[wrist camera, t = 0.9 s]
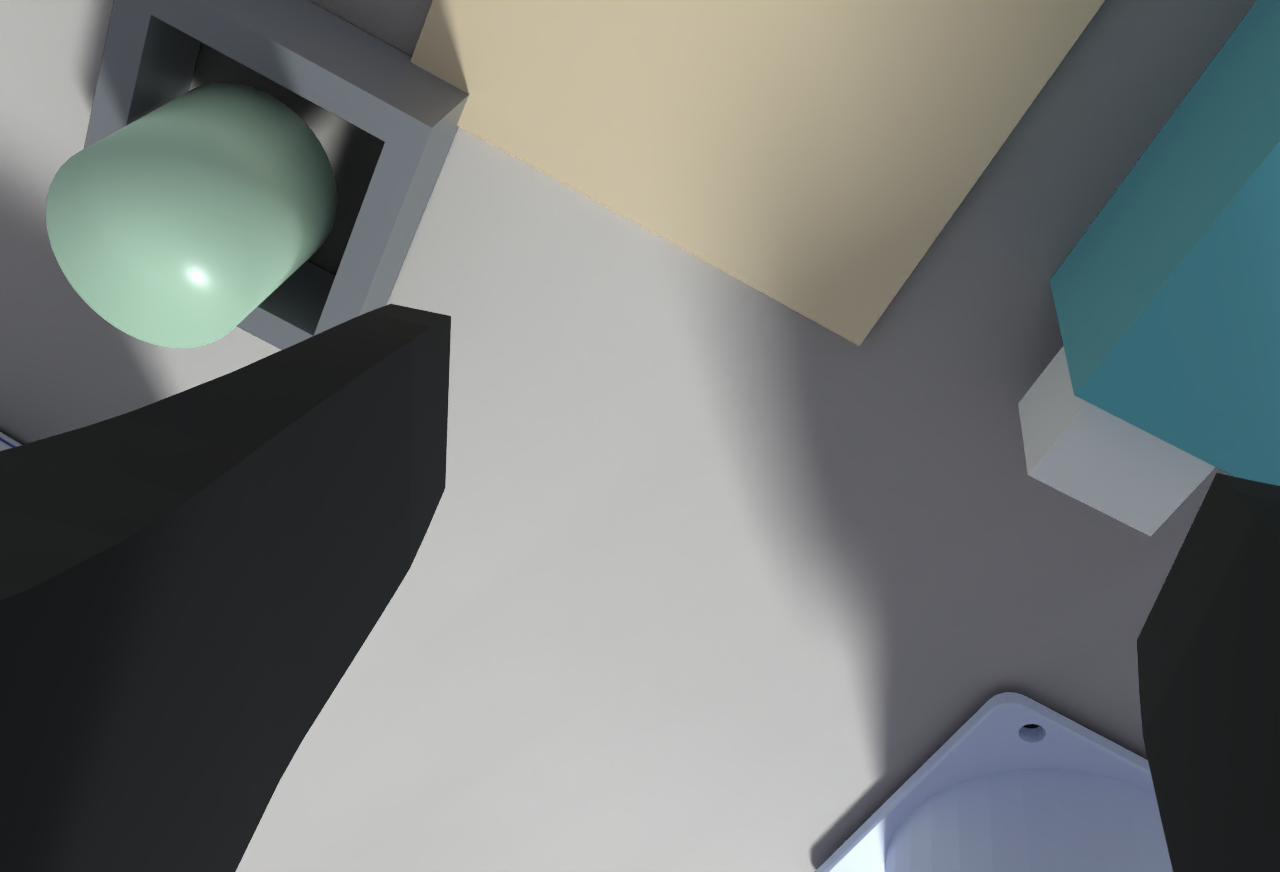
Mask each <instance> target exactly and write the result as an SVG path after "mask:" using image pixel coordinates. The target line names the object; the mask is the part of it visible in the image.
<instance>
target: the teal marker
mask: <svg viewBox="0 0 1280 872" xmlns="http://www.w3.org/2000/svg"><path fill="white" fill-rule="evenodd" d="M1050 286H1051V290H1052V295H1053V300H1054V304H1055V309H1056V313H1057V318H1058V323H1059V327H1060V332H1061V337H1062V341H1063V347H1062V348H1061V349H1060V350H1059V352H1058V353H1057V354H1056V356H1055V357H1054V358H1053V359H1052V361H1051V362H1050V363H1049V365H1048V366H1047V367H1046V368H1045V370H1044V371H1043V372H1042V374H1041V375H1040V376H1039V377H1038V379H1037V380H1036V381H1035V383H1034V384H1033V385H1032V386H1031V388H1030V389H1029V390H1028V392H1027V393H1026V394H1025V395H1024V397H1023V398H1022V399H1021V401H1020V402H1019V403H1018V407H1019V415H1020V422H1021V429H1022V437H1023V444H1024V452H1025V459H1026V466H1027V474H1028V475H1029V476H1031V477H1033V478H1035V479H1037V480H1039V481H1041V482H1043V483H1045V484H1047V485H1049V486H1051V487H1052V488H1054V489H1056V490H1058V491H1060V492H1062V493H1064V494H1066V495H1068V496H1070V497H1072V498H1074V499H1076V500H1078V501H1080V502H1082V503H1084V504H1086V505H1088V506H1090V507H1092V508H1094V509H1096V510H1098V511H1100V512H1102V513H1104V514H1106V515H1108V516H1110V517H1112V518H1114V519H1116V520H1118V521H1120V522H1122V523H1124V524H1126V525H1128V526H1130V527H1132V528H1134V529H1136V530H1138V531H1140V532H1142V533H1144V534H1146V535H1148V536H1150V537H1151V536H1152V535H1153V534H1154V532H1155V531H1156V530H1157V529H1158V528H1159V527H1160V526H1161V525H1162V524H1163V523H1164V522H1165V521H1166V520H1167V519H1168V518H1169V516H1170V515H1171V514H1172V513H1173V512H1174V511H1175V510H1176V509H1177V508H1178V507H1179V506H1180V505H1181V504H1182V503H1183V502H1184V501H1185V499H1186V498H1187V497H1188V496H1189V495H1190V494H1191V493H1192V492H1193V491H1194V490H1195V489H1196V488H1197V487H1198V486H1199V485H1200V483H1201V482H1202V481H1203V480H1204V479H1205V478H1206V477H1207V476H1208V475H1209V474H1210V473H1211V472H1212V471H1213V470H1214V469H1215V468H1218V469H1220V470H1222V471H1224V472H1226V473H1228V474H1230V475H1232V476H1234V477H1238V478H1243V479H1248V480H1253V481H1258V482H1262V483H1267V484H1272V485H1277V486H1280V0H1257V1H1256V2H1255V3H1254V5H1253V6H1252V7H1251V9H1250V10H1249V11H1248V13H1247V14H1246V15H1245V17H1244V18H1243V19H1242V21H1241V22H1240V24H1239V25H1238V26H1237V28H1236V29H1235V30H1234V32H1233V33H1232V34H1231V36H1230V37H1229V38H1228V40H1227V41H1226V42H1225V44H1224V45H1223V47H1222V48H1221V49H1220V51H1219V52H1218V53H1217V55H1216V56H1215V57H1214V59H1213V60H1212V61H1211V63H1210V64H1209V65H1208V67H1207V68H1206V70H1205V71H1204V72H1203V74H1202V75H1201V76H1200V78H1199V79H1198V80H1197V82H1196V83H1195V84H1194V86H1193V87H1192V89H1191V90H1190V91H1189V93H1188V94H1187V95H1186V97H1185V98H1184V99H1183V101H1182V102H1181V103H1180V105H1179V106H1178V107H1177V109H1176V110H1175V112H1174V113H1173V114H1172V116H1171V117H1170V118H1169V120H1168V121H1167V122H1166V124H1165V125H1164V126H1163V128H1162V129H1161V130H1160V132H1159V133H1158V135H1157V136H1156V137H1155V139H1154V140H1153V141H1152V143H1151V144H1150V145H1149V147H1148V148H1147V149H1146V151H1145V152H1144V153H1143V155H1142V156H1141V158H1140V159H1139V160H1138V162H1137V163H1136V164H1135V166H1134V167H1133V168H1132V170H1131V171H1130V172H1129V174H1128V175H1127V176H1126V178H1125V179H1124V181H1123V182H1122V183H1121V185H1120V186H1119V187H1118V189H1117V190H1116V191H1115V193H1114V194H1113V195H1112V197H1111V198H1110V200H1109V201H1108V202H1107V204H1106V205H1105V206H1104V208H1103V209H1102V210H1101V212H1100V213H1099V214H1098V216H1097V217H1096V218H1095V220H1094V221H1093V223H1092V224H1091V225H1090V227H1089V228H1088V229H1087V231H1086V232H1085V233H1084V235H1083V236H1082V237H1081V239H1080V240H1079V241H1078V243H1077V244H1076V246H1075V247H1074V248H1073V250H1072V251H1071V252H1070V254H1069V255H1068V256H1067V258H1066V259H1065V260H1064V262H1063V263H1062V264H1061V266H1060V267H1059V269H1058V270H1057V271H1056V273H1055V274H1054V275H1053V277H1052V278H1051V279H1050Z"/></svg>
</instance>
